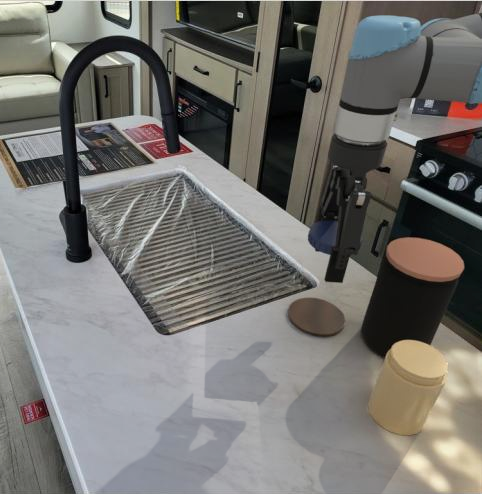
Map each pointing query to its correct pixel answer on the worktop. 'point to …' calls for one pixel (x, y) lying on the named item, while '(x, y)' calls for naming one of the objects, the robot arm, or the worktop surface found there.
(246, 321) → the worktop surface
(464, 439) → the worktop surface
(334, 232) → the lid
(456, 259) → the coffee jar
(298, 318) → the coaster
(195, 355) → the worktop surface
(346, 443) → the worktop surface
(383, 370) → the jar
